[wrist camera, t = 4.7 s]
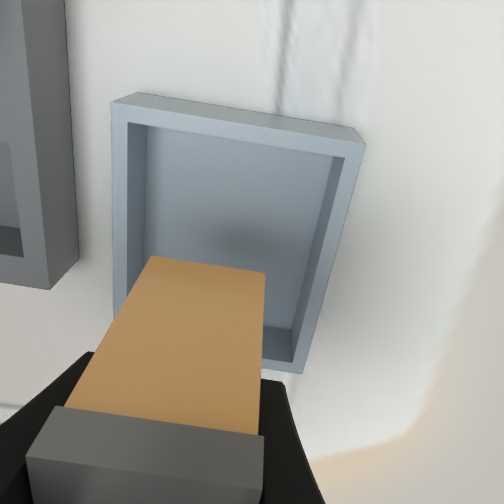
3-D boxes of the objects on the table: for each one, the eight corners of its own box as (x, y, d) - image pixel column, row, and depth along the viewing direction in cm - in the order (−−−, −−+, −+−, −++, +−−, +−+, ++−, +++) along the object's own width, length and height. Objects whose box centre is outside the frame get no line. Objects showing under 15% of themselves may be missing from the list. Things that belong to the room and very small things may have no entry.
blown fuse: (251, 362, 15) (232, 603, 8) (145, 346, 14) (46, 577, 8) (269, 270, 13) (262, 490, 7) (148, 252, 13) (25, 455, 6)
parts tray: (299, 334, 22) (302, 374, 20) (134, 308, 22) (113, 344, 20) (353, 128, 17) (365, 143, 15) (137, 92, 17) (110, 101, 15)
